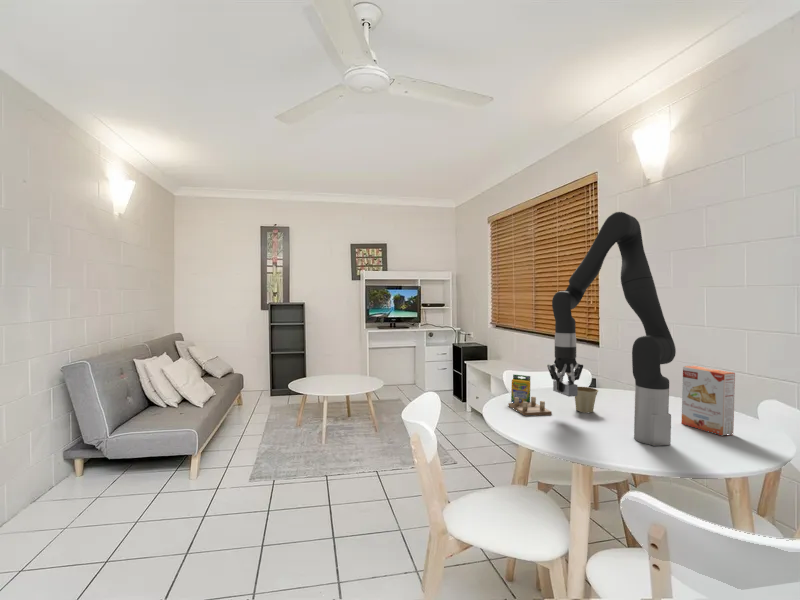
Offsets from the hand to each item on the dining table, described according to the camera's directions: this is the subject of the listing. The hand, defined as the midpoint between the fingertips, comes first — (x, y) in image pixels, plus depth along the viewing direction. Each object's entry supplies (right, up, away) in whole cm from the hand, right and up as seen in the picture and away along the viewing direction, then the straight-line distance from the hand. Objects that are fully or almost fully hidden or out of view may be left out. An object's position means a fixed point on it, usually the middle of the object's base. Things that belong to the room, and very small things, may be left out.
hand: (565, 391), depth 158 cm
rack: (-10, -10, +10) cm, 17 cm away
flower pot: (+12, -10, +10) cm, 18 cm away
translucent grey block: (0, -1, 0) cm, 1 cm away
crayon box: (-11, -10, +21) cm, 25 cm away
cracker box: (+44, -11, -11) cm, 47 cm away
